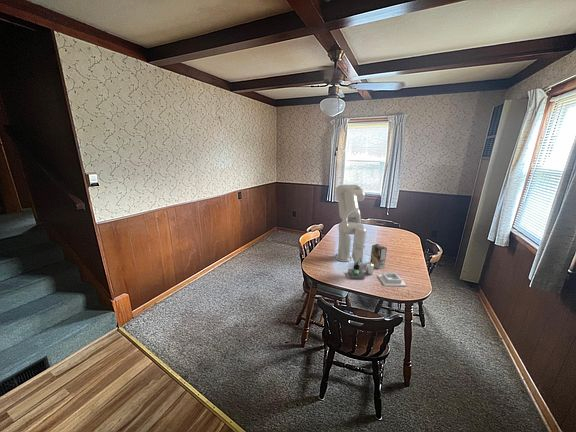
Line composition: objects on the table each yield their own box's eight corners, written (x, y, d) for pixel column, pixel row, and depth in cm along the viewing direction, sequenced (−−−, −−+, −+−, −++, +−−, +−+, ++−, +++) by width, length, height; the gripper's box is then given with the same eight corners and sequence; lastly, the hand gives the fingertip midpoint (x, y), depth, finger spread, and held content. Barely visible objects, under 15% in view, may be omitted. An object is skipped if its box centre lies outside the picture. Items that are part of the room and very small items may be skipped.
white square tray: (377, 276, 159) (378, 271, 158) (397, 276, 159) (398, 271, 158) (384, 286, 147) (384, 281, 146) (405, 286, 147) (406, 281, 146)
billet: (364, 272, 164) (365, 262, 162) (371, 272, 164) (372, 262, 162) (366, 275, 159) (367, 265, 157) (373, 275, 159) (374, 265, 157)
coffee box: (385, 267, 171) (387, 247, 166) (379, 269, 168) (381, 249, 163) (375, 262, 178) (377, 243, 174) (369, 264, 175) (371, 245, 171)
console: (348, 272, 163) (348, 268, 163) (360, 272, 163) (361, 269, 162) (351, 279, 155) (351, 275, 154) (364, 279, 155) (364, 275, 154)
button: (352, 274, 161) (353, 269, 160) (357, 274, 161) (358, 269, 160) (354, 276, 157) (354, 272, 156) (359, 277, 157) (359, 272, 156)
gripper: (350, 240, 160) (348, 263, 166) (356, 250, 146) (353, 274, 151) (361, 240, 160) (358, 263, 166) (367, 250, 146) (364, 275, 151)
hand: (356, 269), depth 158 cm, fingers closed
